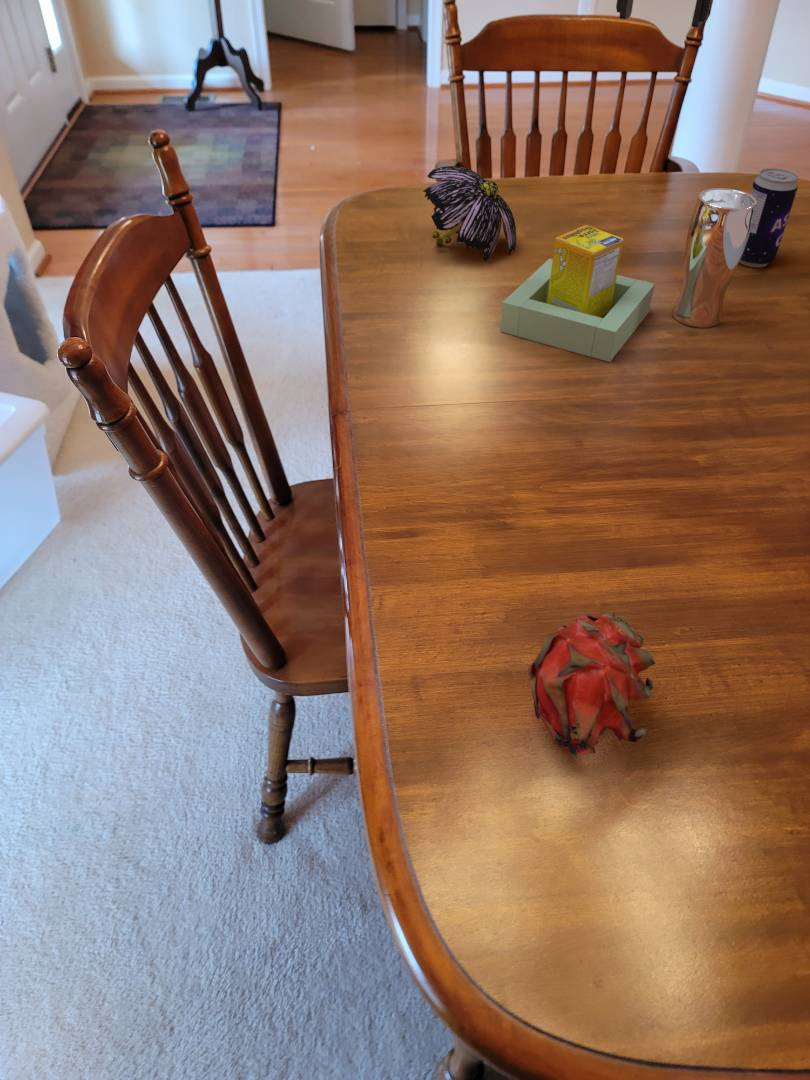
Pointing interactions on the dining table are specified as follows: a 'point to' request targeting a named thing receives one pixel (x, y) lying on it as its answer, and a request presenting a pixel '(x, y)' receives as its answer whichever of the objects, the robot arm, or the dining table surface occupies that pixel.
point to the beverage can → (769, 215)
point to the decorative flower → (469, 210)
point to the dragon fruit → (590, 681)
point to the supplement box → (585, 271)
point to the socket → (575, 316)
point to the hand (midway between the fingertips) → (660, 21)
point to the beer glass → (713, 253)
